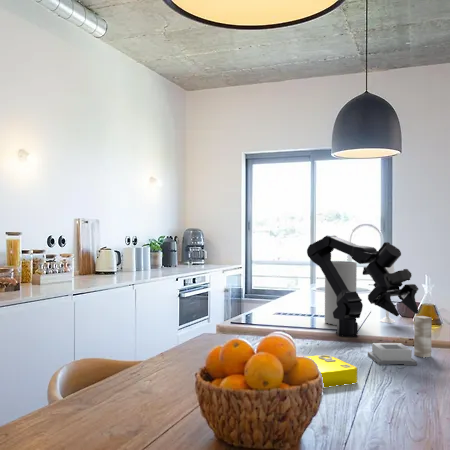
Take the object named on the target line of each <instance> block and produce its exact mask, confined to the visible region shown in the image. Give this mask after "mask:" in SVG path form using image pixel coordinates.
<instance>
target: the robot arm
mask: <svg viewBox="0 0 450 450" xmlns="http://www.w3.org/2000/svg"><path fill="white" fill-rule="evenodd" d="M334 250H336V251H339V252H340V253H341V252H342V253H344V254H346V255H348V256H350V257H351V259H352V260H353V262H356V263H358V264H360V265H362V264H363V265H364V264H365V265H366V264H368V265H366V266H364V267H363V270H362V275H363V276H367V275H369V276H370V278H371V279H372V281H373V282H374V283H373V287H374V288H373V289H372V290H371V291H370V293H369V294H368V295H367V300H368V302H369V303H370V304H371V305H372V304H373V305H375V306H377V307H379V308H382V309H383V310H385V311H386V310H387V311H388V312H389V314H392V315H394V316H395V317H399V316H400V312H399V311H398V309H397V307H396V306H395V304H394V303H393V301H392V299H391V298H392V297H397V298H398V299H399V300H400V301H401V302H400V303H402V304H403V305H404V306H406V307H407V308H408V309H409V310H411V311H412V313H414V314H415V315H417V314H419V312H420V311H419V309H418V304H417V302H416V294H417V293H418V291H419V287H418V285H416V284H415V283H408V284H404V286H403V283H405V282H406V281H411V278H412V275H413V274H412V272H411V271H410V270H409V269H408V268H403V270H402V269H401V270H397V271H394V273H389V272H388V271H387V269H386V267H388V268H390V267H391V266H392V265H393V264H395V263H396V261H397V260H399V258H400V257H401V256H402V252H401V250H400V249H399V248H398V247H396V246H395V245H392V244H391V243H390V242H387V241H385V242H384V243H383V244H382V245H381V247H380V248H379V249H378V250H377V248H376V247H373V246H367V245H358V244H356V243H353V242H350V241H349V240H346V239H343V238H340V237H338V235H334V234H333V235H325V236H324V237H322V238H321V239H319V240H317V241H315V242H313V243H311V244H309V245H308V247H307V249H306V254H307V257H308V258H309V259H310V260H311V262H312V263H314V264H315V265H317V266H318V267H319V269H320V270H321V272H322V273H323V275H324V278H325V277H326V279H327V280H328V282H329V284H330V286H331V287H332V289H333V291H334V293H335V294H336V296H337V300H336V304H337V306H338V307H337V308H336V309H335V310H334V311H333V316H334V318H336V319H337V326H336V331H335V333H336V334H337V336H338V337H342V338H343V337H351V338H352V337H355V338H357V337H358V331H359V330H358V326H359V325H358V322H357V319H360V317H361V316H362V315H361V314H362V311H363V308H364V307H363V306H364V305H363V302H362V301H363V299H362V298H361V297H360V296H359V294H358V292H357V290H356V291H355V292H350V291H349V290H348V288H347V287H346V285H345V283H344V282H343V280H342V278H341V277H340V275H339V273H338V271H337V270H336V268H335V266H334V265H333V263H332V261H333V260H332V252H333V251H334ZM400 287H402V288H401V289H400ZM391 296H392V297H391Z"/></svg>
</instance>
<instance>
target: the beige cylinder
mask: <svg viewBox="0 0 450 450" xmlns="http://www.w3.org/2000/svg"><path fill="white" fill-rule="evenodd" d="M432 322H433V321H432V317H430V316H425V315H418V316H414V330H413V331H414V334H413V335H414V342H413V343H414V344H413V347H414V348H413V355H414V356H415V355H416V356H415V357H419V358H422V357H423V358H424V359H425V357H426V358H429V357H432V325H433V324H432ZM423 358H422V359H423Z"/></svg>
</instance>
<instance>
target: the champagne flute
mask: <svg viewBox="0 0 450 450" xmlns="http://www.w3.org/2000/svg"><path fill="white" fill-rule="evenodd" d="M394 264H395V263H394ZM394 264H393V265H392V266H391V267H390V268H388V267H386V269H387V271H388V272H389V273H394V272H395V265H394ZM392 297H393V296H391V297H390V298H392ZM389 314H390V312H388V311H387V310H385V316H384V317H382V318H380V319H379V322H381V323H388V324H391V323H392V324H393V323H396V321H395V319H393V318H391V317H390V315H389Z"/></svg>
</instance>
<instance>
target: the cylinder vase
mask: <svg viewBox="0 0 450 450" xmlns="http://www.w3.org/2000/svg"><path fill="white" fill-rule="evenodd" d="M331 261H332V263H333V265H334V266H335V268H336V270H337V271H338V273H339V275H340V277H341V278H342V280H343V282H344V283H345V285H346V287H347V288H348V290H349V291H350V292H355V291H356V292H357V267H358V266H357V265H358V264H357V262H356V261H345V260H331ZM336 300H337V296H336V294H335V293H334V291H333V289H332V287H331V286H330V284H329V282H328V280H327V279H326V277H325V276H324V322H325V323H326V324H327V323H328V325H330V324H333V325H332V326H336V325H337V319H336V318H334V316H333V311H334V310H335V309H336V308H337V307H338V306H337V304H336Z"/></svg>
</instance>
